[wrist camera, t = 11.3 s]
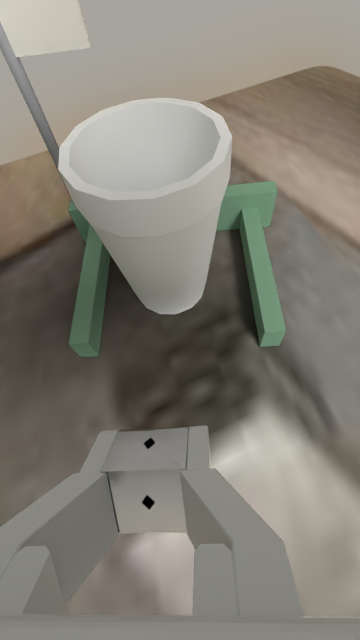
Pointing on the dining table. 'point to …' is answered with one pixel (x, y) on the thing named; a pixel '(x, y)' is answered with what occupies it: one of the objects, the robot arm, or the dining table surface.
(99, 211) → the foam cup
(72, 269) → the dining table surface
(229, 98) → the dining table surface
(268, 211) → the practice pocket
